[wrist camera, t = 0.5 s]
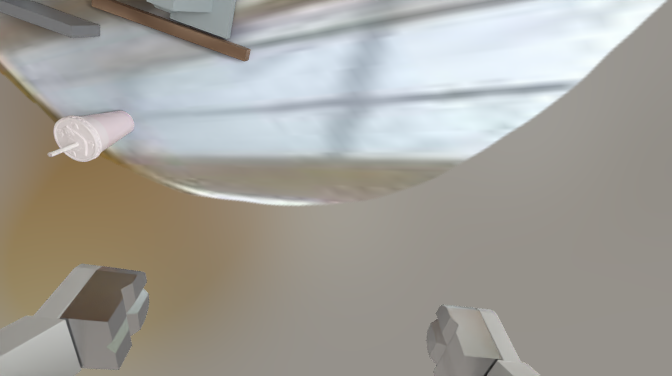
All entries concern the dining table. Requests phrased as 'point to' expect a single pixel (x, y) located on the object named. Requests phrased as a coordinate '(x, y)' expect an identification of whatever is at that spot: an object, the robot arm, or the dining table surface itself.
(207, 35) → the lane
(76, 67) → the dining table surface
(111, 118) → the smoothie
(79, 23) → the grey walled tray
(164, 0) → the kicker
